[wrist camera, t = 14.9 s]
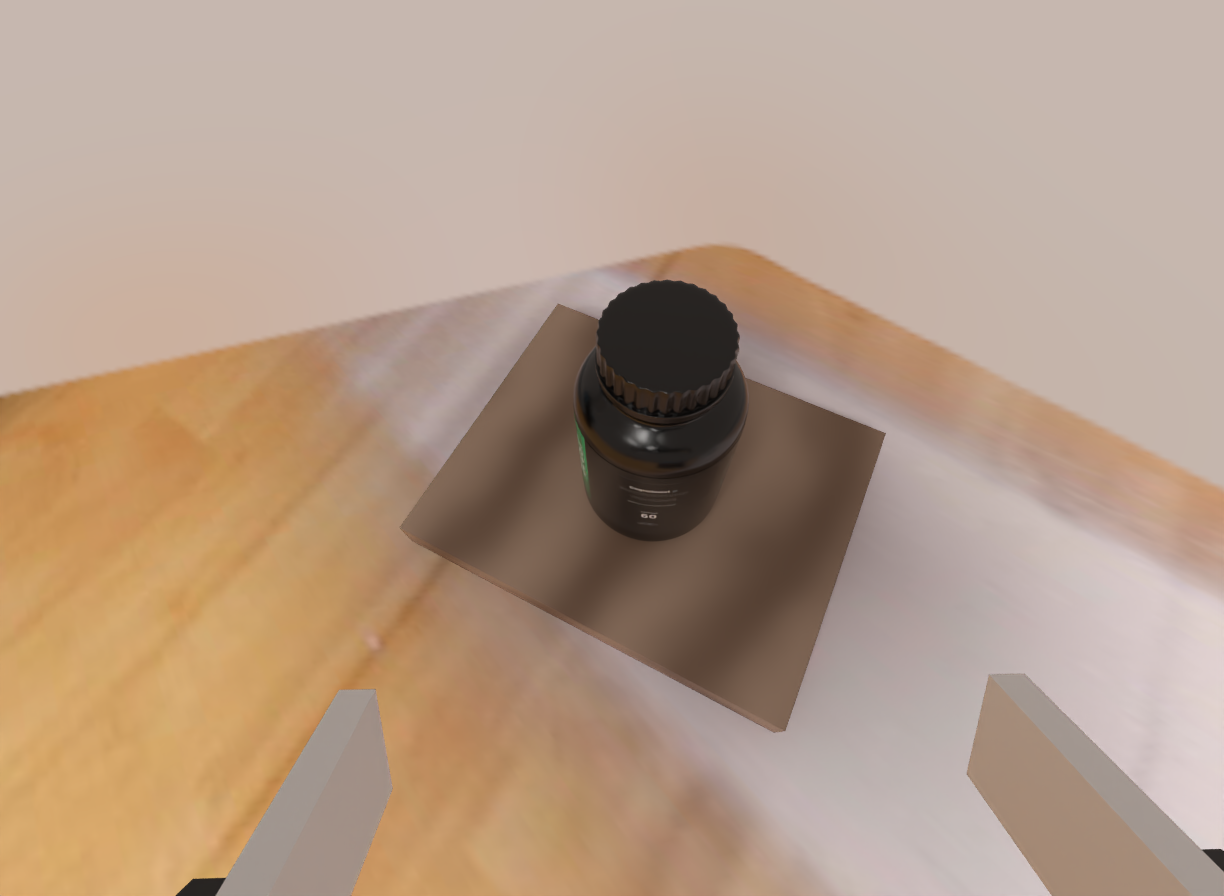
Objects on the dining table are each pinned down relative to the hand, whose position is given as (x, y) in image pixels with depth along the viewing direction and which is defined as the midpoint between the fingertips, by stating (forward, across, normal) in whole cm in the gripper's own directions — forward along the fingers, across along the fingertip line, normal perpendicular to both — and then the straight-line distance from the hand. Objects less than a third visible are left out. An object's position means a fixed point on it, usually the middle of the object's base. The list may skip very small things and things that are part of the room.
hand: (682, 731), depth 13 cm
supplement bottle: (+18, +1, -1) cm, 18 cm away
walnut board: (+19, +1, -3) cm, 19 cm away
